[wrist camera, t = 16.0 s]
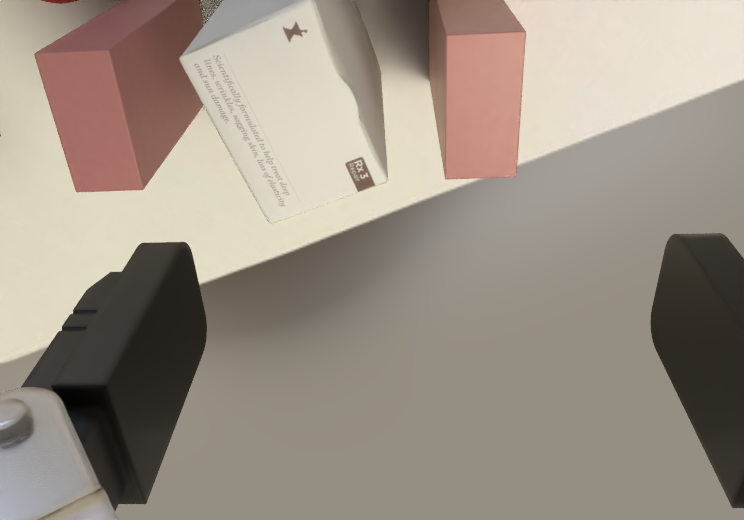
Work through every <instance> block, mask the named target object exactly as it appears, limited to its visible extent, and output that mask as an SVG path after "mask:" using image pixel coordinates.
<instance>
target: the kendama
mask: <svg viewBox="0 0 744 520" xmlns="http://www.w3.org/2000/svg"><path fill="white" fill-rule="evenodd" d="M42 1H46V2H51V3H60V4H61V3H70V2H74V1H78V0H42Z"/></svg>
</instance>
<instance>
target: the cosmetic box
mask: <svg viewBox="0 0 744 520" xmlns="http://www.w3.org/2000/svg"><path fill="white" fill-rule="evenodd" d="M179 59H180V62H181V64H182V66H183V68H184V70H185V72H186V73H187V75H188V77H189V79H190V81H191V83H192V84H193V86H194V88H195V90H196V92H197V93H198V95H199V97H200V99H201V101H202V103H203V105H204V107H205V109H206V111H207V112H208V114H209V116H210V118H211V120H212V121H213V123H214V125H215V127H216V129H217V131H218V133H219V135H220V136H221V138H222V140H223V142H224V144H225V146H226V147H227V149H228V151H229V153H230V155H231V156H232V158H233V160H234V162H235V164H236V165H237V167H238V169H239V171H240V173H241V174H242V176H243V178H244V180H245V182H246V183H247V185H248V187H249V189H250V191H251V192H252V194H253V196H254V198H255V199H256V201H257V203H258V205H259V206H260V208H261V210H262V212H263V213H264V215H265V217H266V219H267V221H268V222H269V223H270V224H272V223H275V222H278V221H281V220H284V219H287V218H290V217H292V216H295V215H298V214H301V213H303V212H306V211H309V210H311V209H314V208H316V207H319V206H322V205H324V204H327V203H330V202H333V201H335V200H338V199H341V198H343V197H346V196H349V195H352V194H354V193H357V192H360V191H363V190H365V189H368V188H371V187H374V186H377V185H380V184H383V183H386V182H387V181H388V173H387V156H386V144H385V129H384V113H383V98H382V83H381V71H380V67H379V64H378V61H377V58H376V55H375V52H374V50H373V47H372V44H371V42H370V39H369V36H368V34H367V31H366V28H365V26H364V23H363V21H362V19H361V16H360V14H359V11H358V9H357V7H356V4H355V2H354V0H223V1H222V2H221V4H220V5H219V6H218V8H217V9H216V10H215V12H214V13H213V14H212V15H211V17H210V18H209V20H208V21H207V22H206V23H205V25H204V26H203V28H202V29H201V30H200V31H199V33H198V34H197V36H196V37H195V38H194V40H193V41H192V42H191V44H190V45H189V47H188V48H187V49H186V51H185V52H184V53H183V55H182V56H181V57H180V58H179Z"/></svg>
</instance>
